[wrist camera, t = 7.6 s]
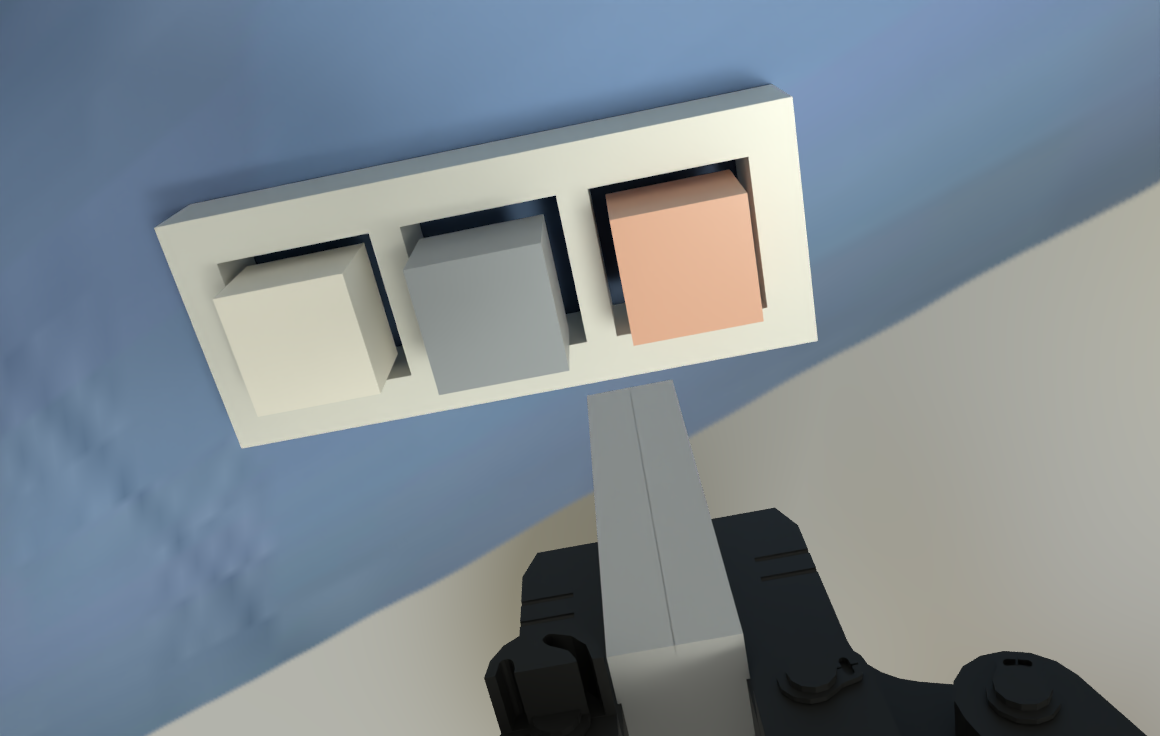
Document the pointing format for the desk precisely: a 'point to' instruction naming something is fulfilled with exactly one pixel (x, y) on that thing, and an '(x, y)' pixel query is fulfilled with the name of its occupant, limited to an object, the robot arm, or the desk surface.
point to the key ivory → (308, 330)
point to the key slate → (489, 305)
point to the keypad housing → (493, 179)
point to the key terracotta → (685, 256)
